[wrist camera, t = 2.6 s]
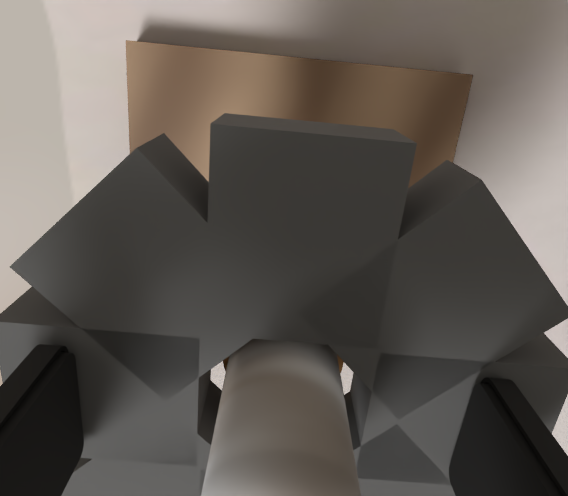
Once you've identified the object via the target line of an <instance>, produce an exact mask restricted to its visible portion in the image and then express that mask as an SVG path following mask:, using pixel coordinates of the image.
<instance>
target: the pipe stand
mask: <svg viewBox="0 0 568 496" xmlns="http://www.w3.org/2000/svg"><path fill="white" fill-rule="evenodd" d="M126 60H127V87H128V114H129V142H130V154H131V153H132V152H133V151H134V150H135V149H136V148H137V147H139V146H141V145H143V144H145V143H146V142H148V141H150V140H152V139H154V138H156V137H157V136H159V135H161V134H163V133H165V135H166V136H167V137H168V138H169V139H170V140H171V141H172V142H173V143H174V144H175V146H176V147H177V148H178V149H179V150H180V151H181V152H182V153H183V154H184V155H185V157H186V158H187V159H188V160H189V161H190V162H191V163H192V164H193V165H194V166H195V168H196V169H197V170H198V171H199V172H200V173H201V174H202V175H203V176H204V177H205V179H206V180H207V181H208V182H209V156H210V124H211V123H212V122H213V121H215V120H216V119H217V118H219V117H220V116H221V115H223V114H224V113H229V114H240V115H250V116H261V117H271V118H282V119H292V120H303V121H313V122H324V123H334V124H344V125H355V126H365V127H376V128H386V129H394V130H396V131H397V132H399V133H401V134H402V135H404V136H406V137H407V138H409V139H411V140H412V141H414V142H416V143H417V146H416V151H415V156H414V161H413V166H412V171H411V176H410V181H409V186H408V188H409V187H411V186H412V185H414V184H415V183H416V182H418V181H419V180H420V179H422V178H423V177H424V176H426V175H427V174H428V173H430V172H431V171H432V170H434V169H435V168H436V167H438V166H439V165H440V164H442V163H443V162H444V161H446V160H449V161H450V162H452V163H453V159H454V155H455V151H456V146H457V142H458V138H459V134H460V129H461V125H462V121H463V116H464V112H465V108H466V103H467V99H468V95H469V91H470V86H471V82H472V78H473V75H470V74H460V73H449V72H439V71H429V70H419V69H409V68H399V67H389V66H379V65H369V64H359V63H349V62H339V61H329V60H319V59H309V58H299V57H288V56H278V55H268V54H258V53H248V52H238V51H228V50H218V49H208V48H198V47H188V46H178V45H168V44H158V43H148V42H138V41H128V40H126ZM343 362H344V361H343V360H342V359H341V358H340V357H339V356H338V355H337V354H336V353H335V352H334V351H333V350H332V348H331V347H330V346H329V345H325V344H313V343H301V342H289V341H276V340H264V339H252V340H250V341H249V342H248V343H246V344H245V345H244V346H242V347H241V348H239V349H238V350H237V351H235V352H234V353H232V354H231V355H230V356H228V357H227V358H225V359H224V360H223V364H224V368H225V371H226V374H225V379H224V384H223V389H222V394H221V399H220V404H219V409H218V414H217V419H216V424H215V429H214V434H213V439H212V444H211V449H210V454H209V459H208V464H207V469H206V474H205V478H204V483H203V488H202V493H201V496H361V492H360V487H359V481H358V475H357V469H356V463H355V457H354V452H353V446H352V440H351V434H350V428H349V422H348V417H347V411H346V405H345V399H344V393H343V387H342V381H341V376H340V373H341V370H342V367H343Z"/></svg>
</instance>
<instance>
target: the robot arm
mask: <svg viewBox="0 0 568 496" xmlns="http://www.w3.org/2000/svg"><path fill="white" fill-rule="evenodd" d="M83 446H84V438H83V428H82V418H81V408H80V398H79V388H78V378H77V368H76V358H75V355H74V354H73V353H68V349H67V347H65V346H60V345H46V344H39V345H37V346H36V347H34V349H33V350H32V351H31V352H30V353H29V354H28V355H27V357H26V358H25V359H24V360H23V361H22V362H21V363H20V364H19V366H18V367H17V368H16V369H15V370H14V371H13V372H12V374H11V375H10V376H9V377H8V378H7V379H6V380H5V382H4V383H3V384H2V385H1V386H0V496H61V495H62V493H63V491H64V489H65V487H66V485H67V483H68V481H69V479H70V478H71V476H72V474H73V472H74V470H75V468H76V466H77V464H78V462H79V460H80V458H81V455H82V452H83ZM449 479H450V483H451V486H452V488H453V491H454V493H455V496H568V456H567V454H566V453H565V452H564V450H563V449H562V448H561V446H560V445H559V443H558V442H557V441H556V439H555V438H554V437H553V435H552V434H551V432H550V431H549V430H548V428H547V427H546V426H545V424H544V423H543V421H542V420H541V419H540V417H539V416H538V415H537V413H536V412H535V410H534V409H533V408H532V406H531V405H530V404H529V402H528V401H527V399H526V398H525V397H524V395H523V394H522V392H521V391H520V390H519V388H518V387H517V386H516V384H515V383H514V382H513V381H512V380H510V379H502V378H488V377H486V378H484V379H483V380H482V381H481V383H476V384H475V386H474V388H473V391H472V394H471V398H470V401H469V404H468V407H467V410H466V414H465V417H464V420H463V423H462V427H461V430H460V433H459V436H458V439H457V443H456V446H455V449H454V452H453V456H452V459H451V462H450V465H449Z"/></svg>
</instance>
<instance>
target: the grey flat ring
mask: <svg viewBox="0 0 568 496" xmlns="http://www.w3.org/2000/svg"><path fill="white" fill-rule="evenodd" d="M416 146H417V143H416V142H414V141H412V140H411V139H409V138H407V137H406V136H404V135H402V134H401V133H399V132H397V131H396V130H394V129H386V128H376V127H365V126H355V125H344V124H334V123H324V122H313V121H303V120H292V119H282V118H271V117H261V116H250V115H240V114H229V113H224V114H223V115H221V116H220V117H219V118H217V119H216V120H215V121H213V122H212V123H211V124H210V156H209V182H208V181H207V180H206V179H205V177H204V176H203V175H202V174H201V173H200V172H199V171H198V170H197V169H196V168H195V166H194V165H193V164H192V163H191V162H190V161H189V160H188V159H187V158H186V157H185V155H184V154H183V153H182V152H181V151H180V150H179V149H178V148H177V147H176V146H175V144H174V143H173V142H172V141H171V140H170V139H169V138H168V137H167V136H166V135H165V133H163V134H161V135H159V136H157V137H156V138H154V139H152V140H150V141H148V142H146V143H145V144H143V145H141V146H139V147H137V148H136V149H135V150H134V151H133V152H132V153H131V154H129V155H128V156H127V157H126V158H125V159H124V160H123V161H122V162H121V163H120V164H119V165H118V166H117V167H116V168H115V169H113V170H112V171H111V172H110V173H109V174H108V175H107V176H106V177H105V178H104V179H103V180H102V181H101V182H100V183H99V184H97V185H96V186H95V187H94V188H93V189H92V190H91V191H90V192H89V193H88V194H87V195H86V196H85V197H84V198H83V199H81V200H80V201H79V202H78V203H77V204H76V205H75V206H74V207H73V208H72V209H71V210H70V211H69V212H68V213H67V214H65V216H63V217H62V218H61V219H60V220H59V221H58V222H57V223H56V224H55V225H54V226H53V227H52V228H51V229H49V231H47V232H46V233H45V234H44V235H43V236H42V237H41V238H40V239H39V240H38V241H37V242H36V243H35V244H33V245H32V246H31V247H30V248H29V249H28V250H27V251H26V252H25V253H24V254H23V255H22V256H21V257H20V258H19V259H17V261H15V262H14V263H13V264H12V265H11V266H10V268H12V269H13V270H14V271H15V272H16V273H17V274H19V275H20V276H21V277H22V278H23V279H24V280H26V281H27V282H28V283H29V284H30V285H31V286H32V287H31V288H30V289H29V290H28V291H26V292H25V293H24V294H23V295H22V296H21V297H19V298H18V299H17V300H16V301H15V302H14V303H12V304H11V305H10V306H9V307H8V308H7V309H6V310H5V311H3V312H2V313H1V314H0V370H1V375H2V381H3V383H4V382H5V380H6V379H7V378H8V377H9V376H10V375H11V374H12V372H13V371H14V370H15V369H16V368H17V367H18V366H19V364H20V363H21V362H22V361H23V360H24V359H25V358H26V357H27V355H28V354H29V353H30V352H31V351H32V350H33V349H34V347H36V346H37V345H39V344H46V345H60V346H65V347H67V349H68V353H73V354H74V355H75V358H76V368H77V378H78V388H79V398H80V408H81V418H82V428H83V438H84V446H83V452H82V455H81V458H80V460H79V462H78V464H77V466H76V468H75V470H74V472H73V474H72V476H71V478H70V479H69V481H68V483H67V485H66V487H65V489H64V491H63V493H62V495H61V496H201V493H202V488H203V483H204V478H205V474H206V469H207V464H208V459H209V454H210V449H211V444H212V439H213V434H214V429H215V424H216V419H217V414H218V409H219V404H220V399H221V394H222V390H220V389H219V388H218V387H217V386H216V385H215V384H214V383H213V382H212V381H211V380H210V375H211V369H212V368H213V367H214V366H216V365H217V364H219V363H220V362H221V361H223V360H224V359H225V358H227V357H228V356H230V355H231V354H232V353H234V352H235V351H237V350H238V349H239V348H241V347H242V346H244V345H245V344H246V343H248V342H249V341H250V340H252V339H264V340H276V341H289V342H301V343H313V344H325V345H329V346H330V347H331V348H332V350H333V351H334V352H335V353H336V354H337V355H338V356H339V357H340V358H341V359H342V360H343V361H344V362H345V363H346V365H347V366H348V367H349V368H350V369H351V370H352V371H353V372H354V373H353V379H352V384H351V390H350V392H348V393H347V394H345V395H344V399H345V405H346V411H347V417H348V422H349V428H350V434H351V440H352V446H353V452H354V457H355V463H356V469H357V475H358V481H359V487H360V492H361V496H455V493H454V491H453V488H452V486H451V483H450V479H449V465H450V462H451V459H452V456H453V452H454V449H455V446H456V443H457V439H458V436H459V433H460V430H461V427H462V423H463V420H464V417H465V414H466V410H467V407H468V404H469V401H470V398H471V394H472V391H473V388H474V386H475V384H476V383H481V381H482V380H483V379H484V378H486V377H488V378H502V379H510V380H512V381H513V382H514V383H515V384H516V386H517V387H518V388H519V390H520V391H521V392H522V394H523V395H524V397H525V398H526V399H527V401H528V402H529V404H530V405H531V406H532V408H533V409H534V410H535V412H536V413H537V415H538V416H539V417H540V419H541V420H542V421H543V423H544V424H545V426H546V427H547V428H548V430H549V431H550V432H551V434H552V431H553V429H554V426H555V424H556V421H557V419H558V416H559V414H560V412H561V409H562V407H563V404H564V402H565V399H566V397H567V394H568V358H567V357H566V356H565V355H564V354H563V353H562V352H561V351H560V350H559V349H558V348H557V347H556V346H555V345H554V344H553V343H552V342H551V340H550V339H549V338H548V337H547V336H546V335H545V334H544V332H545V331H547V330H549V329H550V328H552V327H554V326H555V325H557V324H559V323H560V322H562V321H564V320H565V319H567V318H568V306H567V305H566V303H565V302H564V300H563V299H562V297H561V296H560V294H559V293H558V291H557V290H556V288H555V287H554V286H553V284H552V283H551V281H550V280H549V278H548V277H547V275H546V274H545V272H544V271H543V269H542V268H541V266H540V265H539V263H538V262H537V261H536V259H535V258H534V256H533V255H532V253H531V252H530V250H529V249H528V247H527V246H526V244H525V243H524V241H523V240H522V239H521V237H520V236H519V234H518V233H517V231H516V230H515V228H514V227H513V225H512V224H511V222H510V221H509V219H508V218H507V216H506V215H505V214H504V212H503V211H502V209H501V208H500V206H499V205H498V203H497V202H496V200H495V199H494V197H493V196H492V194H491V193H490V191H489V190H488V189H487V187H486V186H485V184H484V183H483V181H482V180H481V179H479V178H478V177H476V176H474V175H472V174H471V173H469V172H467V171H466V170H464V169H462V168H461V167H459V166H457V165H455V164H454V163H452V162H450V161H449V160H446V161H444V162H443V163H442V164H440V165H439V166H438V167H436V168H435V169H434V170H432V171H431V172H430V173H428V174H427V175H426V176H424V177H423V178H422V179H420V180H419V181H418V182H416V183H415V184H414V185H412V186H411V187H409V188H408V186H409V181H410V176H411V171H412V166H413V161H414V156H415V151H416Z"/></svg>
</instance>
